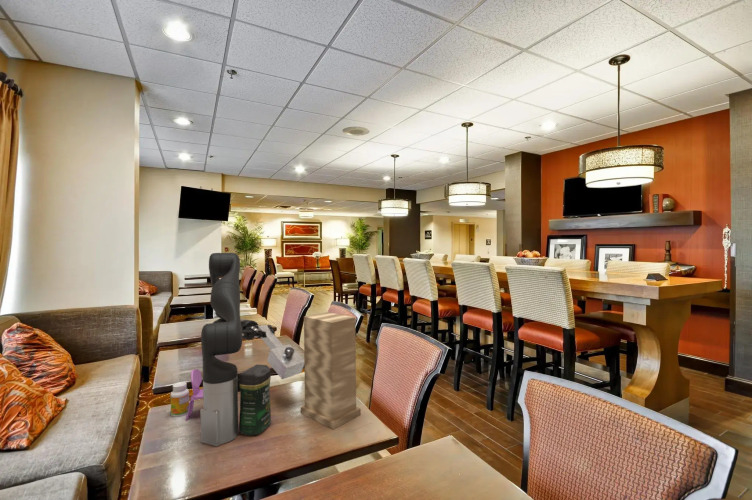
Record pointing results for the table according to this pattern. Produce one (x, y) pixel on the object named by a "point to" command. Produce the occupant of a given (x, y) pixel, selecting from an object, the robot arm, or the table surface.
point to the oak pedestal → (330, 369)
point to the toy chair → (195, 389)
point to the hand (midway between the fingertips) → (269, 333)
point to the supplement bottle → (179, 399)
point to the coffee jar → (254, 400)
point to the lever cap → (282, 355)
